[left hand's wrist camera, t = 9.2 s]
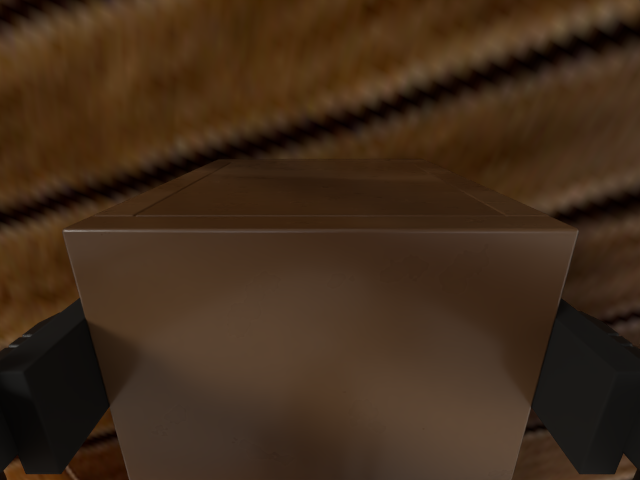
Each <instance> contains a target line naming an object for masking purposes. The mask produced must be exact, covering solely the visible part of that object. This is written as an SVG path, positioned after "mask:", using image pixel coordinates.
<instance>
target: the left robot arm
mask: <svg viewBox="0 0 640 480" xmlns="http://www.w3.org/2000/svg"><path fill="white" fill-rule="evenodd" d="M108 408H109V403H108V399H107V395H106V392H105V388H104V384H103V381H102V377H101V373H100V370H99V366H98V362H97V359H96V355H95V351H94V348H93V344H92V340H91V337H90V333H89V329H88V325H87V322H86V318H85V314H84V311H83V307H82V303H81V300H80V298H79V299H78V300H76V301H75V302H74V303H73V304H71V305H70V306H69V307H67V308H66V309H65V310H63V311H62V312H61V313H58V314H56V315H54V316H52V317H50V318H48V319H46V320H43V321H41V322H39V323H38V324H37V325H35V326H34V327H33V328H31V329H30V330H29V331H27V332H26V333H25V334H23V336H22V337H19V338H18V339H16V340H15V341H14V342H12V343H11V344H10V345H9V347H8V348H4V349H3V350H2V351H0V480H7V478H6V475H5V473H4V471H3V470H4V469H5V468H6V467H7V466H8V465H9V464H10V462H11V461H12V460H13V459H14V458H15V457H16V456H17V455H18V456H19V459H20V461H21V463H22V466H23V468H24V471H25V473H26V474H61V473H62V472H63V471H64V469H65V468H66V466H67V465H68V464H69V462H70V461H71V459H72V458H73V457H74V455H75V454H76V452H77V451H78V450H79V448H80V447H81V445H82V444H83V443H84V441H85V440H86V438H87V437H88V436H89V434H90V433H91V431H92V430H93V429H94V427H95V426H96V424H97V423H98V422H99V420H100V419H101V417H102V416H103V415H104V413H105V412H106V410H107V409H108ZM532 408H533V410H534V411H535V413H536V414H537V415H538V417H539V418H540V420H541V421H542V422H543V424H544V425H545V427H546V428H547V429H548V431H549V432H550V434H551V435H552V436H553V438H554V439H555V441H556V442H557V443H558V445H559V446H560V448H561V449H562V450H563V452H564V453H565V455H566V456H567V457H568V459H569V460H570V462H571V463H572V464H573V466H574V467H575V469H576V470H577V471H578V473H579V474H615V472H616V470H617V467H618V465H619V462H620V460H621V458H622V455H623V453H624V454H625V455H626V456H627V458H628V459H629V460H630V461H631V462H632V463H633V464H634V465H635V467H636V468H637V471H636V473H635V475H634V478H633V480H640V349H638V348H637V347H633V346H632V343H630V342H629V341H628V340H626V339H625V338H624V337H622V336H619V335H618V333H617V332H616V331H614V330H613V329H612V328H610V327H609V326H607V325H606V324H605V323H603V322H602V321H600V320H598V319H596V318H594V317H592V316H590V315H588V314H586V313H584V312H582V311H577V310H576V309H574V308H573V307H572V306H571V305H569V304H568V303H567V302H565V301H564V300H563V299H561V300H560V303H559V307H558V311H557V315H556V318H555V322H554V326H553V329H552V333H551V337H550V340H549V344H548V348H547V351H546V355H545V359H544V363H543V366H542V370H541V374H540V377H539V381H538V385H537V388H536V392H535V396H534V399H533V403H532Z"/></svg>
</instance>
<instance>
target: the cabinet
mask: <svg viewBox="0 0 640 480" xmlns="http://www.w3.org/2000/svg"><path fill="white" fill-rule="evenodd" d="M62 233H63V237H64V241H65V244H66V248H67V252H68V255H69V259H70V263H71V267H72V270H73V274H74V278H75V281H76V285H77V289H78V292H79V296H80V300H81V303H82V307H83V311H84V314H85V318H86V322H87V325H88V329H89V333H90V337H91V340H92V344H93V348H94V351H95V355H96V359H97V362H98V366H99V370H100V373H101V377H102V381H103V384H104V388H105V392H106V395H107V399H108V403H109V407H110V410H111V414H112V418H113V421H114V425H115V429H116V432H117V436H118V440H119V443H120V447H121V451H122V454H123V458H124V462H125V465H126V469H127V473H128V476H129V480H512V477H513V473H514V469H515V466H516V462H517V458H518V455H519V451H520V447H521V444H522V440H523V436H524V433H525V429H526V425H527V422H528V418H529V414H530V410H531V407H532V403H533V399H534V396H535V392H536V388H537V385H538V381H539V377H540V374H541V370H542V366H543V363H544V359H545V355H546V351H547V348H548V344H549V340H550V337H551V333H552V329H553V326H554V322H555V318H556V315H557V311H558V307H559V303H560V300H561V296H562V292H563V289H564V285H565V281H566V278H567V274H568V270H569V267H570V263H571V259H572V256H573V252H574V248H575V244H576V241H577V237H578V233H579V231H578V229H577V228H574V227H572V226H570V225H568V224H565V223H563V222H561V221H559V220H557V219H554V218H552V217H550V216H549V215H547V214H545V213H542V212H540V211H538V210H536V209H533V208H531V207H529V206H527V205H524V204H522V203H520V202H518V201H515V200H513V199H511V198H509V197H506V196H504V195H502V194H500V193H497V192H495V191H493V190H491V189H489V188H486V187H484V186H482V185H480V184H477V183H475V182H473V181H471V180H468V179H466V178H464V177H462V176H459V175H457V174H455V173H453V172H450V171H448V170H446V169H444V168H442V167H439V166H437V165H435V164H433V163H430V162H427V161H425V160H423V159H218V160H216V161H214V162H212V163H210V164H207V165H205V166H203V167H201V168H198V169H196V170H194V171H192V172H189V173H187V174H185V175H183V176H180V177H178V178H176V179H174V180H172V181H169V182H167V183H165V184H163V185H160V186H158V187H156V188H154V189H151V190H149V191H147V192H145V193H143V194H140V195H138V196H136V197H134V198H131V199H129V200H127V201H125V202H122V203H120V204H118V205H116V206H114V207H111V208H109V209H107V210H105V211H102V212H100V213H98V214H96V215H94V216H91V217H89V218H87V219H84V220H82V221H80V222H78V223H75V224H73V225H71V226H69V227H67V228H64V229H63V231H62Z"/></svg>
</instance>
